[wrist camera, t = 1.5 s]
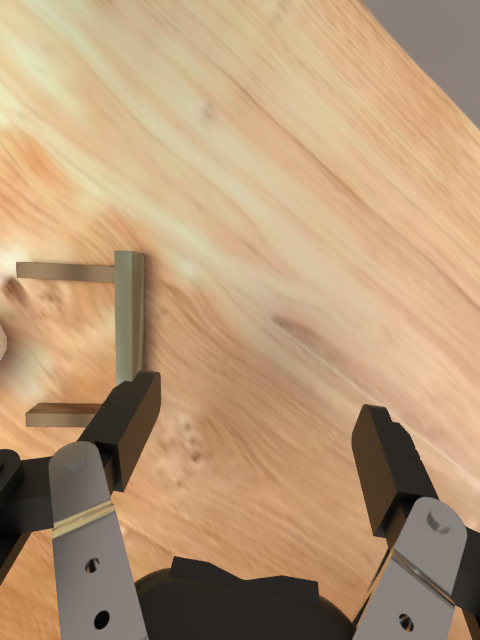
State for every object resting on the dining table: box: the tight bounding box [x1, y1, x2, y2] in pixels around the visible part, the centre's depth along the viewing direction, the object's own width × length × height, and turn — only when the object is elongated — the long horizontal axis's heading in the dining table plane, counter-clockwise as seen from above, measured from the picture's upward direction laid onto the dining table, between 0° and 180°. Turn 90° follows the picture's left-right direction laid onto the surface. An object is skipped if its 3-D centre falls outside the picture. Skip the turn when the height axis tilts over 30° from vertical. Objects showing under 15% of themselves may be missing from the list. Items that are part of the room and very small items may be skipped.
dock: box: [16, 251, 144, 427], centre depth 33 cm, size 12×20×5 cm, turn 177°
